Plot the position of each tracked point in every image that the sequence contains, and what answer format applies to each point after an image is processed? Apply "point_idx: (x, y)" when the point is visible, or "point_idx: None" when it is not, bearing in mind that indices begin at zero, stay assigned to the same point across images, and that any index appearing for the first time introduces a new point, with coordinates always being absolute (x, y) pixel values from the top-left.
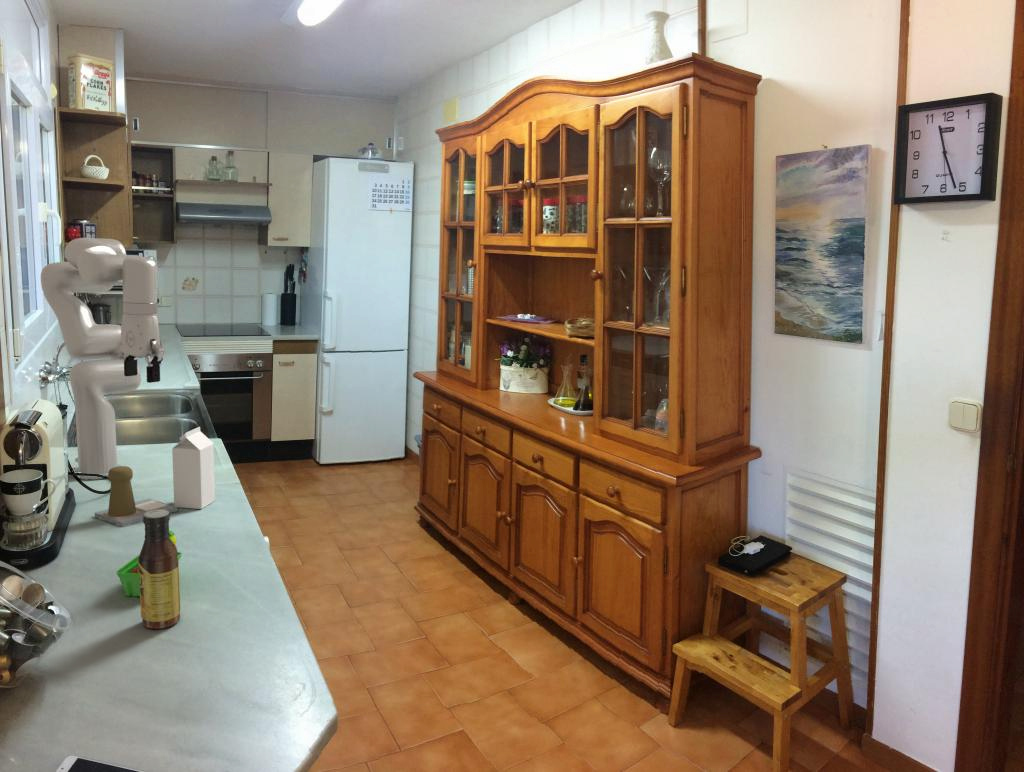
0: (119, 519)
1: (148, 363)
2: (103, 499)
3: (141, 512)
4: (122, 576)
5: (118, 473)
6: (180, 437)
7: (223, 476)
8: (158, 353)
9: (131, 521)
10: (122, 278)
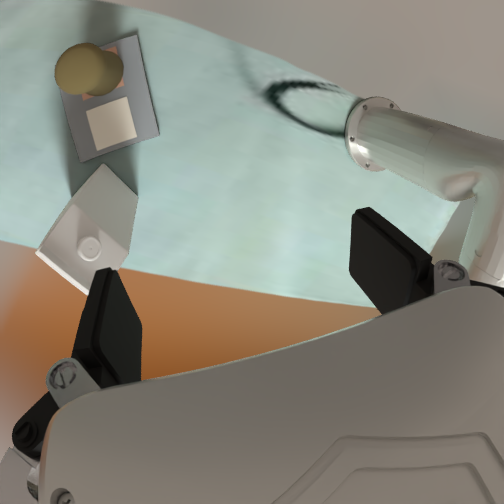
0: None
1: (76, 378)
2: (231, 75)
3: (85, 103)
4: None
5: (57, 61)
6: (82, 239)
7: (234, 280)
8: (1, 477)
9: None
10: None
